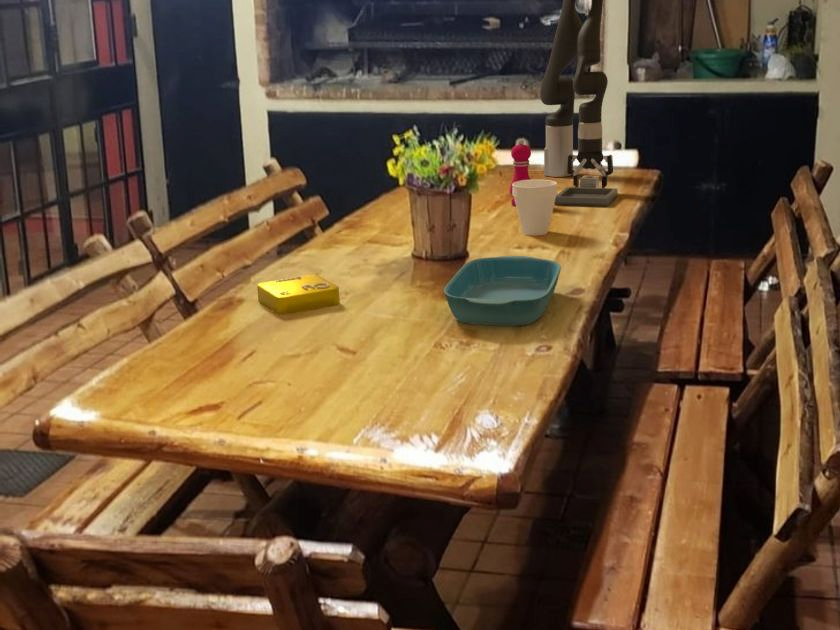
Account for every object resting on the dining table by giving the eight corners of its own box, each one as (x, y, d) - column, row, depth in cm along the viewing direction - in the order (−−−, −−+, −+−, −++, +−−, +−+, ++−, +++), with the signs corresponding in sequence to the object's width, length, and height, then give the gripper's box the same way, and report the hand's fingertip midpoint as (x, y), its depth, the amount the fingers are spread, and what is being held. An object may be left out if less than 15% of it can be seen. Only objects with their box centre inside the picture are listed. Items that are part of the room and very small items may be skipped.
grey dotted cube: (580, 193, 368) (580, 178, 366) (583, 190, 372) (583, 175, 371) (595, 194, 366) (595, 178, 364) (599, 191, 370) (599, 175, 369)
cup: (555, 238, 311) (555, 187, 307) (510, 237, 313) (509, 187, 309) (559, 227, 322) (559, 179, 318) (515, 227, 325) (514, 179, 321)
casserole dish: (543, 335, 231) (543, 301, 229) (434, 331, 237) (433, 297, 235) (567, 286, 265) (567, 255, 263) (471, 283, 271) (470, 253, 269)
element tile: (316, 291, 271) (315, 271, 269) (343, 306, 258) (341, 285, 256) (255, 301, 264) (254, 281, 263) (279, 317, 251) (278, 296, 250)
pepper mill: (505, 204, 356) (504, 139, 350) (526, 201, 359) (525, 136, 353) (517, 208, 350) (516, 141, 344) (538, 205, 353) (537, 139, 347)
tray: (554, 205, 352) (554, 196, 351) (567, 194, 366) (567, 187, 365) (606, 206, 346) (606, 198, 346) (617, 196, 361) (617, 188, 360)
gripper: (615, 135, 365) (614, 186, 369) (570, 134, 370) (570, 184, 374) (610, 138, 358) (609, 190, 363) (565, 137, 363) (565, 189, 368)
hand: (590, 187), depth 368 cm, fingers open, 8 cm apart
